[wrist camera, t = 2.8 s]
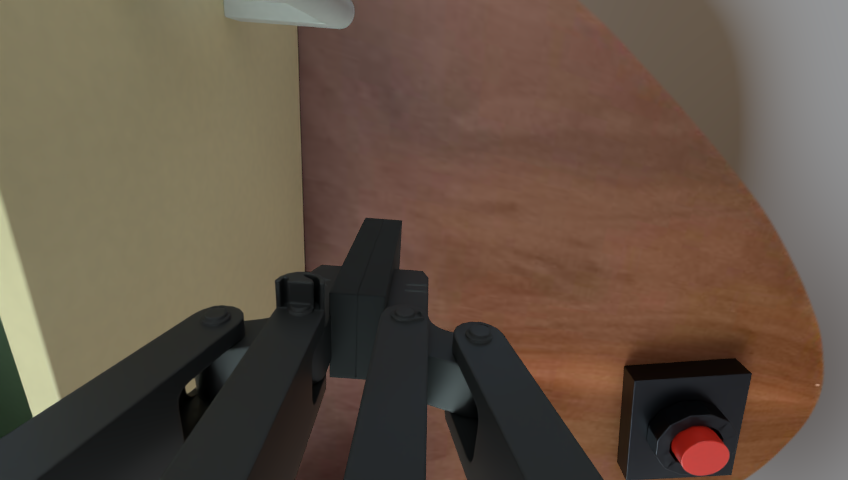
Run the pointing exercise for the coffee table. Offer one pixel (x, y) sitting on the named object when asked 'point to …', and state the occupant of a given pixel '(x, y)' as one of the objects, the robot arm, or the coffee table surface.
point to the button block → (678, 412)
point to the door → (144, 172)
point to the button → (700, 450)
